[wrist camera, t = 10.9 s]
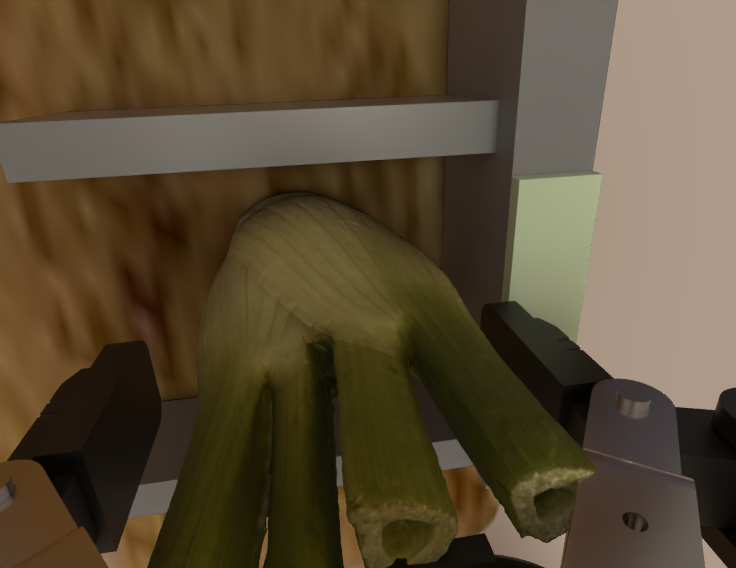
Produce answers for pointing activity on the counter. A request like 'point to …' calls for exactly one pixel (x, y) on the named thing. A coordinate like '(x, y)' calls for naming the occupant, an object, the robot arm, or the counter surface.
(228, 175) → the counter surface
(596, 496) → the robot arm
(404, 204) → the counter surface
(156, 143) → the comb rack
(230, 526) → the fennel bulb
